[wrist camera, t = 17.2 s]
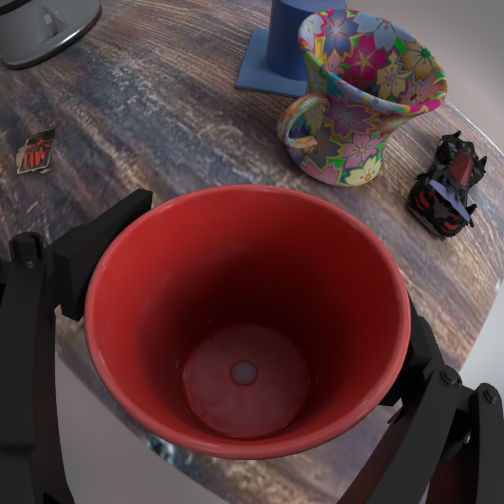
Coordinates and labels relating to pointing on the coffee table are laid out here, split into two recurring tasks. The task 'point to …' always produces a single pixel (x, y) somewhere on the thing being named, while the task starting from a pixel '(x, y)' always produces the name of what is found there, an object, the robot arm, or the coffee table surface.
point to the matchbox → (36, 152)
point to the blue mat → (265, 71)
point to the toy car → (447, 187)
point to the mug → (356, 94)
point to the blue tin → (291, 34)
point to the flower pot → (247, 321)
